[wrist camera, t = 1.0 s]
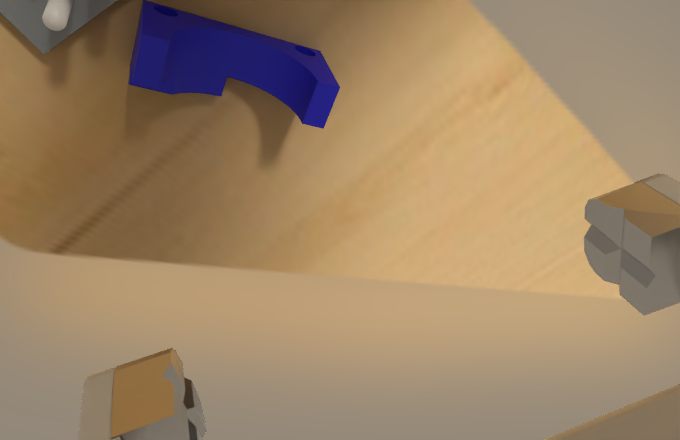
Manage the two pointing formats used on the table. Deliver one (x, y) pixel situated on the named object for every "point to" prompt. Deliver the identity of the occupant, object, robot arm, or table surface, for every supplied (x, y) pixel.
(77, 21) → the pin tray
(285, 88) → the cable clip
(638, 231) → the robot arm
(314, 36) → the table surface
